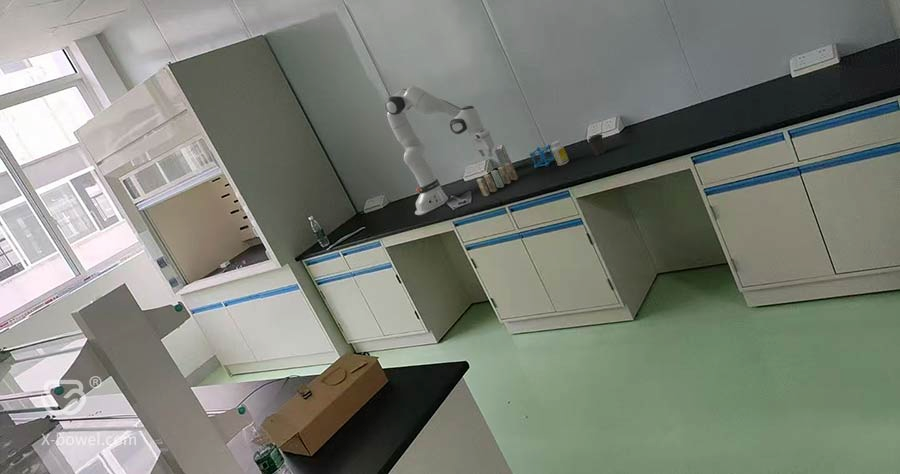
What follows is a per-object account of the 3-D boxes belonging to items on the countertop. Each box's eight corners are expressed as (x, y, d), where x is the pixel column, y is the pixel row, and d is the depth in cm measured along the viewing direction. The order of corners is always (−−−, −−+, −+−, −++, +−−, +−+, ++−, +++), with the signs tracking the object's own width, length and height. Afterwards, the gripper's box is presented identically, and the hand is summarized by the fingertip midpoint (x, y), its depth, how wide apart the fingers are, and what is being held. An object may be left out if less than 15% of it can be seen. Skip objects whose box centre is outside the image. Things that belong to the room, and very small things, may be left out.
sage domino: (501, 187, 363) (494, 172, 360) (497, 187, 368) (490, 171, 365) (504, 186, 364) (497, 170, 361) (500, 185, 368) (493, 170, 365)
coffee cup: (609, 151, 336) (603, 134, 333) (595, 157, 337) (588, 140, 334) (606, 149, 344) (599, 131, 341) (592, 155, 345) (585, 138, 342)
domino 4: (515, 179, 366) (508, 164, 363) (511, 179, 371) (504, 164, 368) (518, 178, 367) (511, 162, 364) (513, 178, 371) (507, 162, 368)
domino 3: (508, 183, 365) (501, 168, 362) (504, 183, 369) (497, 168, 366) (511, 182, 365) (504, 166, 362) (507, 182, 370) (500, 166, 367)
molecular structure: (557, 159, 369) (550, 143, 366) (548, 166, 362) (541, 150, 360) (543, 162, 376) (537, 146, 373) (534, 169, 370) (528, 153, 367)
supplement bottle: (570, 159, 354) (562, 138, 351) (566, 164, 349) (558, 142, 346) (560, 162, 358) (551, 141, 355) (556, 167, 353) (547, 146, 350)
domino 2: (494, 191, 361) (487, 176, 359) (490, 191, 366) (483, 175, 363) (497, 190, 362) (490, 174, 359) (493, 189, 367) (486, 174, 364)
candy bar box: (506, 170, 396) (496, 146, 392) (513, 167, 395) (503, 143, 390) (504, 175, 386) (494, 151, 382) (512, 172, 385) (502, 147, 380)
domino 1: (487, 196, 360) (480, 180, 357) (483, 195, 365) (476, 179, 362) (490, 194, 361) (483, 178, 358) (486, 194, 365) (479, 178, 362)
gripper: (465, 136, 365) (474, 158, 369) (481, 135, 346) (490, 158, 350) (474, 132, 367) (483, 154, 371) (490, 130, 348) (500, 153, 352)
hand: (487, 156), depth 360 cm, fingers open, 8 cm apart
